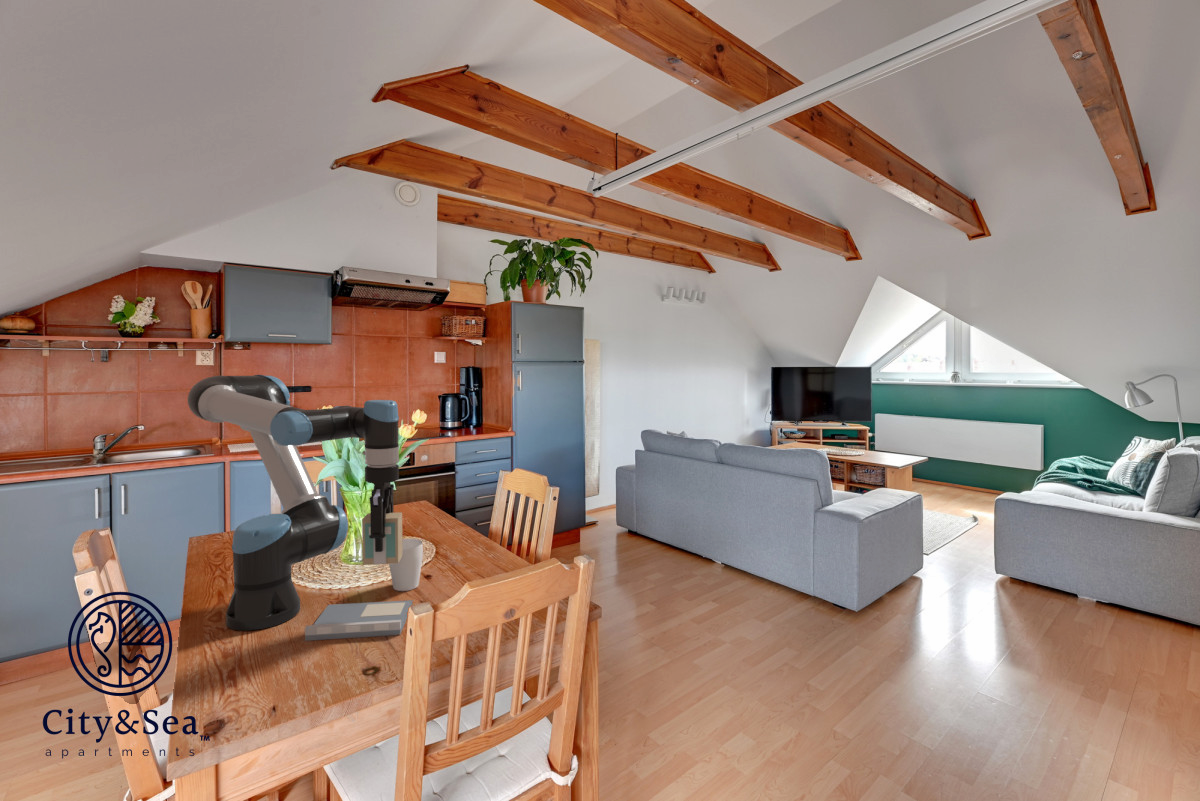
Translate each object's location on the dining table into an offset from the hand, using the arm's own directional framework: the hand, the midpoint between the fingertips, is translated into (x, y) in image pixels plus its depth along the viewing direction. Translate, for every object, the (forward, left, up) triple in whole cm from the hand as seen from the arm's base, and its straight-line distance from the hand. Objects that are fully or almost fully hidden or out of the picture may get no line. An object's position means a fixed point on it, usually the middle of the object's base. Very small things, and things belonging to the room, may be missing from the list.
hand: (383, 559), depth 128 cm
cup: (+2, +16, -14) cm, 22 cm away
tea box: (0, 0, 0) cm, 0 cm away
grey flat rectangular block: (-4, -3, -14) cm, 15 cm away
